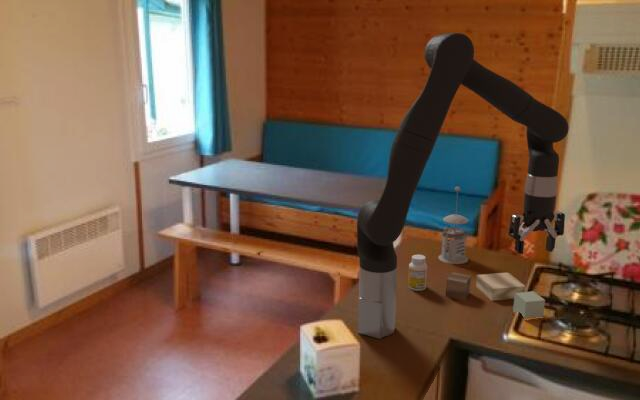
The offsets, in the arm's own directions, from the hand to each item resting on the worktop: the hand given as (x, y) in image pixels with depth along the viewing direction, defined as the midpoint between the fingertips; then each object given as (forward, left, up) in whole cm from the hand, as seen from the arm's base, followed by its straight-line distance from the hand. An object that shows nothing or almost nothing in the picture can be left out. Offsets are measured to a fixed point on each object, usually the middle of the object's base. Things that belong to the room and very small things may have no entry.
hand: (534, 252), depth 147 cm
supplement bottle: (+2, +32, -18) cm, 37 cm away
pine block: (+11, +10, -18) cm, 24 cm away
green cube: (0, 0, -18) cm, 18 cm away
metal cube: (+3, +20, -18) cm, 27 cm away
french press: (+29, +30, -18) cm, 45 cm away
